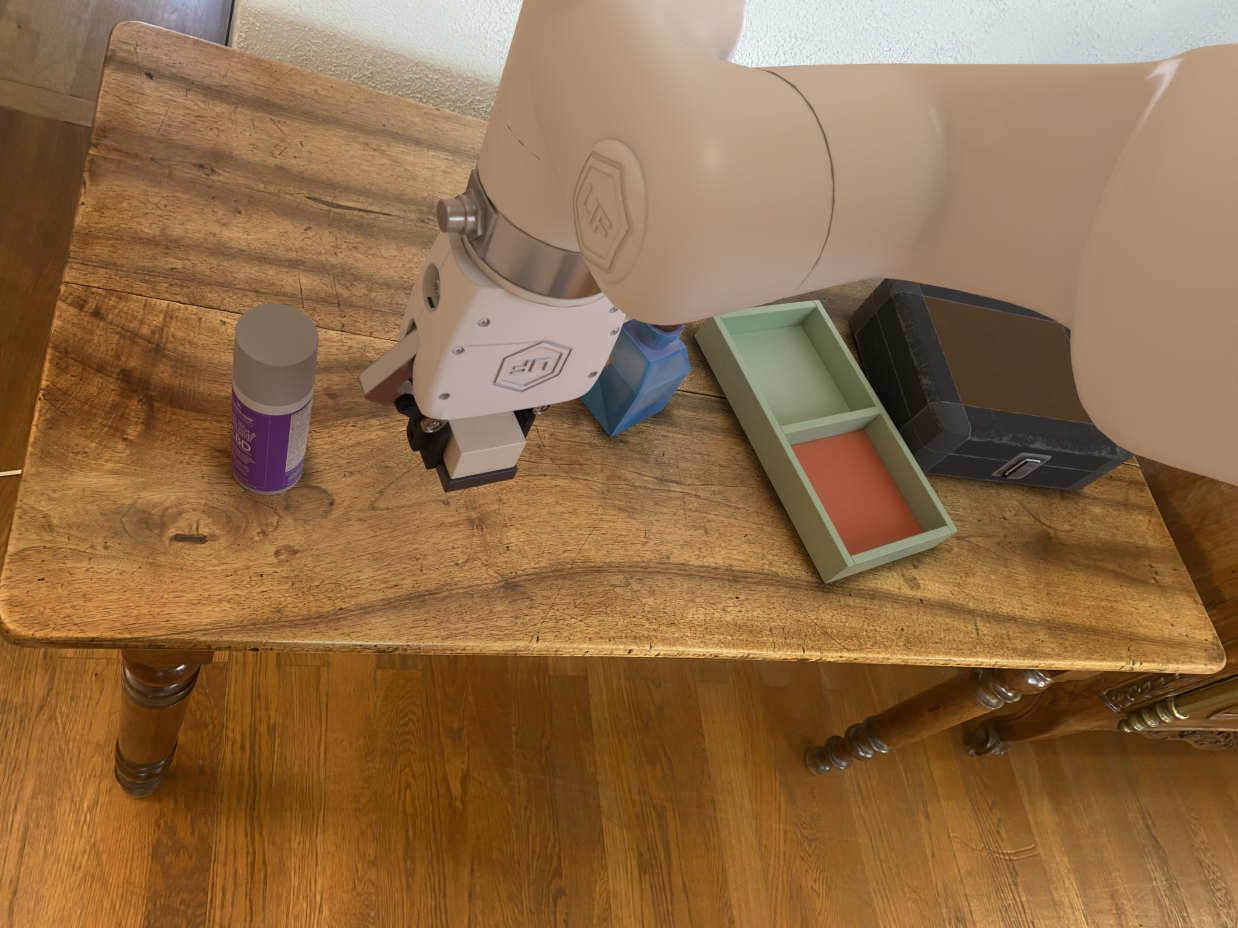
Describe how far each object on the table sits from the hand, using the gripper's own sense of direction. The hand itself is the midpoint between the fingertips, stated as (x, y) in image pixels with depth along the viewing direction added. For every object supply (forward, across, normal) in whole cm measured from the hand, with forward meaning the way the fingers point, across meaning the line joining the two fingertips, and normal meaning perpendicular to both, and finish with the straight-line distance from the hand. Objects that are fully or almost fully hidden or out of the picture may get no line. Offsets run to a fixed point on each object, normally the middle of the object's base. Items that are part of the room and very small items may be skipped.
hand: (465, 439), depth 52 cm
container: (+13, -9, +8) cm, 18 cm away
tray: (+13, +38, +1) cm, 40 cm away
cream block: (+1, 0, +2) cm, 2 cm away
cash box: (+14, +60, +1) cm, 61 cm away
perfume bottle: (+13, +20, +9) cm, 26 cm away
